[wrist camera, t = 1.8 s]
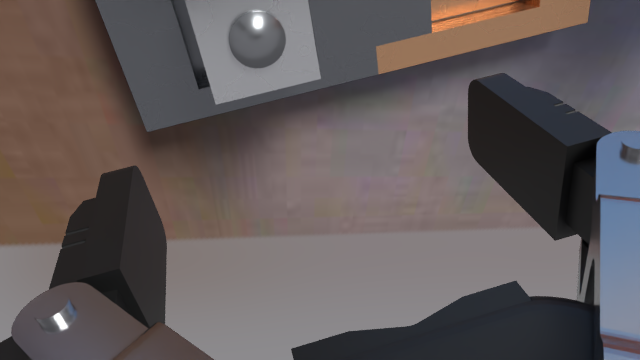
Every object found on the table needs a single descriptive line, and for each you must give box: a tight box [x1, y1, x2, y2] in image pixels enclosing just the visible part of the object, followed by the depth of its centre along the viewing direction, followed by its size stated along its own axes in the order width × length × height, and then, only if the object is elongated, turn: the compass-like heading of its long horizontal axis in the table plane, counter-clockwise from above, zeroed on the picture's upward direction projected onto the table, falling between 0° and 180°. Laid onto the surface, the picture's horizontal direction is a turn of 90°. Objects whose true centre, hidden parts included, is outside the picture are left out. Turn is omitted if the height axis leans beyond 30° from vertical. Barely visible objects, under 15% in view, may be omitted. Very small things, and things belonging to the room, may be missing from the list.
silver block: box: [185, 0, 321, 105], centre depth 22 cm, size 4×4×6 cm
